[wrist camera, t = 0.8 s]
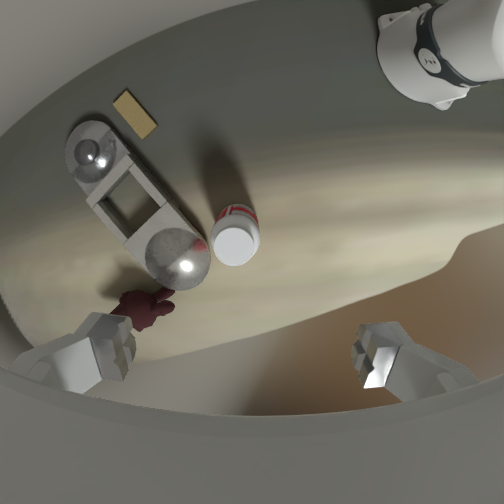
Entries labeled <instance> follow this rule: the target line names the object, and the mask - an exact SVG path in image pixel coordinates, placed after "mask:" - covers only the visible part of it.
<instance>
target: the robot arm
mask: <svg viewBox="0 0 504 504" xmlns="http://www.w3.org/2000/svg"><path fill="white" fill-rule="evenodd" d="M389 19H390V20H391V21H390V20H389ZM378 26H379V30H380V35H379V39H378V44H377V54H378V59H379V62H380V65H381V68H382V70H383V72H384V74H385V75H386V77H387V78H388V80H389V81H390V82H391V83H392V85H393V86H394V87H395V88H396V89H397V90H398V91H400V92H401V93H402V94H404V95H405V96H407V97H408V98H410V99H413V100H415V101H419V102H425V103H430V104H432V105H433V106H435V107H436V108H438V109H440V110H446V109H448V108H449V107H450V105H451V104H452V103H453V101H454V100H455V99H459V98H463V97H465V96H466V95H467V94H466V93H467V92H468V91H469V89H470V88H471V87H477V86H480V85H482V84H485V83H487V82H488V81H489V80H495V79H503V78H504V0H450V1H449V2H447V3H445V4H438V5H436V6H433V7H432V6H431V5H430V4H429V3H425V4H422V5H420V6H419V8H418V7H414V8H412V9H410V10H409V11H403V12H397V13H392V14H386V15H382V16H380V17H379V18H378ZM132 328H133V325H132V320H131V318H130V317H128V316H120V315H113V314H105V313H99V312H91V314H90V315H89V316H88V317H87V318H86V319H85V321H84V322H83V323H82V324H81V325H80V327H79V328H78V329H77V330H76V331H75V333H74V334H67V335H65V336H63V337H60V338H58V339H55V340H53V341H51V342H48V343H46V344H43V345H41V346H38V347H36V348H34V349H31V350H29V351H26V352H24V353H22V354H20V355H19V356H18V357H17V359H16V360H15V361H14V362H13V363H12V364H11V366H10V367H9V368H8V369H7V370H6V369H3V368H1V367H0V504H504V374H502V375H499V376H496V377H494V378H491V379H488V380H485V381H482V382H479V381H478V380H477V378H476V377H475V376H474V375H473V374H472V372H471V371H470V370H469V369H468V368H467V366H464V365H462V364H460V363H458V362H456V361H454V360H452V359H449V358H447V357H445V356H443V355H441V354H439V353H437V352H435V351H432V350H430V349H428V348H426V347H424V346H422V345H420V344H415V343H414V342H413V340H412V339H411V338H410V337H409V335H408V334H407V333H406V332H405V330H404V329H403V328H402V327H401V325H400V324H399V323H398V322H385V323H374V324H361V325H359V327H358V329H357V333H356V335H357V337H358V338H359V339H358V340H357V341H356V342H355V343H354V344H353V348H352V363H353V366H354V368H355V369H357V370H358V371H360V372H359V375H358V377H359V379H360V381H361V383H362V386H363V387H364V388H372V387H382V386H385V388H386V389H387V390H389V391H390V392H391V393H393V394H394V395H395V396H396V397H398V398H399V399H400V400H401V401H403V403H398V404H392V405H387V406H381V407H375V408H368V409H361V410H354V411H345V412H335V413H324V414H312V415H292V416H231V415H228V416H227V415H211V414H199V413H187V412H177V411H169V410H162V409H155V408H148V407H141V406H135V405H130V404H124V403H119V402H114V401H109V400H105V399H100V398H96V397H91V396H87V395H84V394H83V393H84V392H85V391H87V390H88V389H90V388H91V387H92V386H94V385H95V384H96V383H98V382H99V381H101V380H102V379H108V380H114V381H121V382H123V381H124V379H125V376H126V375H127V372H128V371H129V369H128V364H130V363H132V362H133V360H134V358H135V353H136V341H135V337H134V336H133V335H132V334H131V330H132Z"/></svg>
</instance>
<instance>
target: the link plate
mask: <svg viewBox="0 0 504 504" xmlns="http://www.w3.org/2000/svg"><path fill="white" fill-rule="evenodd" d="M113 105H114V107H115V108H116V109H117V110H118V111H119V113H120V114H121V115H122V116H123V117H124V119H125V120H126V121H127V122H128V123H129V125H130V126H131V127H132V128H133V129H134V130H135V132H136V133H137V134H138V135H139V136H140V138H141V139H142V140H144V139H145V138H146V137H147V136H148V135H149V134H150V133H151V132H153V131H154V130H155V129H156V128H157V127H158V125H157V124H156V123H155V122H154V120H153V119H152V118H151V117H150V116H149V115H148V113H147V112H146V111H145V110H144V109H143V108H142V106H141V105H140V104H139V103H138V102H137V101H136V100H135V98H134V97H133V96H132V95H131V94H130V93H129V92H128V91H125V92H124V93H123V94H122V95H121V96H120V97H119V98H118V99H117V100H116V101H115V103H114V104H113Z"/></svg>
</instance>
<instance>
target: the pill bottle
mask: <svg viewBox="0 0 504 504" xmlns="http://www.w3.org/2000/svg"><path fill="white" fill-rule="evenodd" d="M259 243H260V232H259V225H258V219H257V216H256V214H255V213H254V211H253V210H252V209H250V208H249V207H248V206H245V205H242V204H233V205H229V206H227V207H225V208H224V209H223V210H222V211H221V212H220V214H219V215H218V217H217V220H216V222H215V224H214V226H213V229H212V232H211V245H212V248H213V250H214V252H215V255H216V257H217V258H218V259H219V260H220V261H221V262H222V263H224V264H226V265H229V266H239V265H242V264H244V263H246V262H247V261H248V260H249V259H250V258H251V257H252V256H253V255H254V254H255V252H256V251H257V249H258V247H259Z"/></svg>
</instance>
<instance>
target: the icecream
mask: <svg viewBox="0 0 504 504" xmlns="http://www.w3.org/2000/svg"><path fill="white" fill-rule="evenodd" d="M174 293H175V290H172V289H168V288H166V287H163V288H162V289H160V290H158V291H157V292H156V293H155V294H154V295H153V296H152V295H151V294H149V293H147V292H145V291H140V290H136V291H131V292H129V291H127V292H126V293H123V294H122V297H121V298H120V300H119V302H120V304H119V305H118V306H117V307H116V308H115V309H114V310H113V311H112V312H111V313H110V314H113V315H120V316H128V317H130V318H131V320H132V325H133V328H135V329H136V330H137V331H138V332H141V331H142V330H143V329H144V328H147V327H149V326H152V325H153V323H154V322H155V320H156V318H157V316H160V315H161V316H165V315H166V314H168V313H170V312H172V311H173V310H174V308H175V305H174V303H172V302H171V301H168V300H165V299H167V298H169V297H170V296H172V295H173V294H174ZM162 300H163V301H162ZM160 301H161V302H160ZM157 302H159V303H157Z"/></svg>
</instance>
